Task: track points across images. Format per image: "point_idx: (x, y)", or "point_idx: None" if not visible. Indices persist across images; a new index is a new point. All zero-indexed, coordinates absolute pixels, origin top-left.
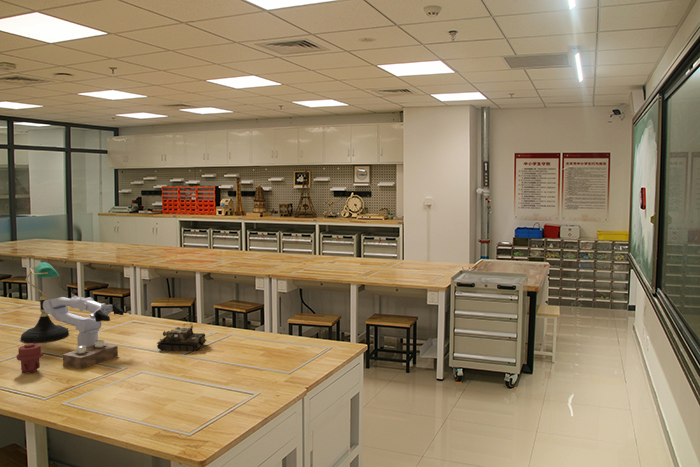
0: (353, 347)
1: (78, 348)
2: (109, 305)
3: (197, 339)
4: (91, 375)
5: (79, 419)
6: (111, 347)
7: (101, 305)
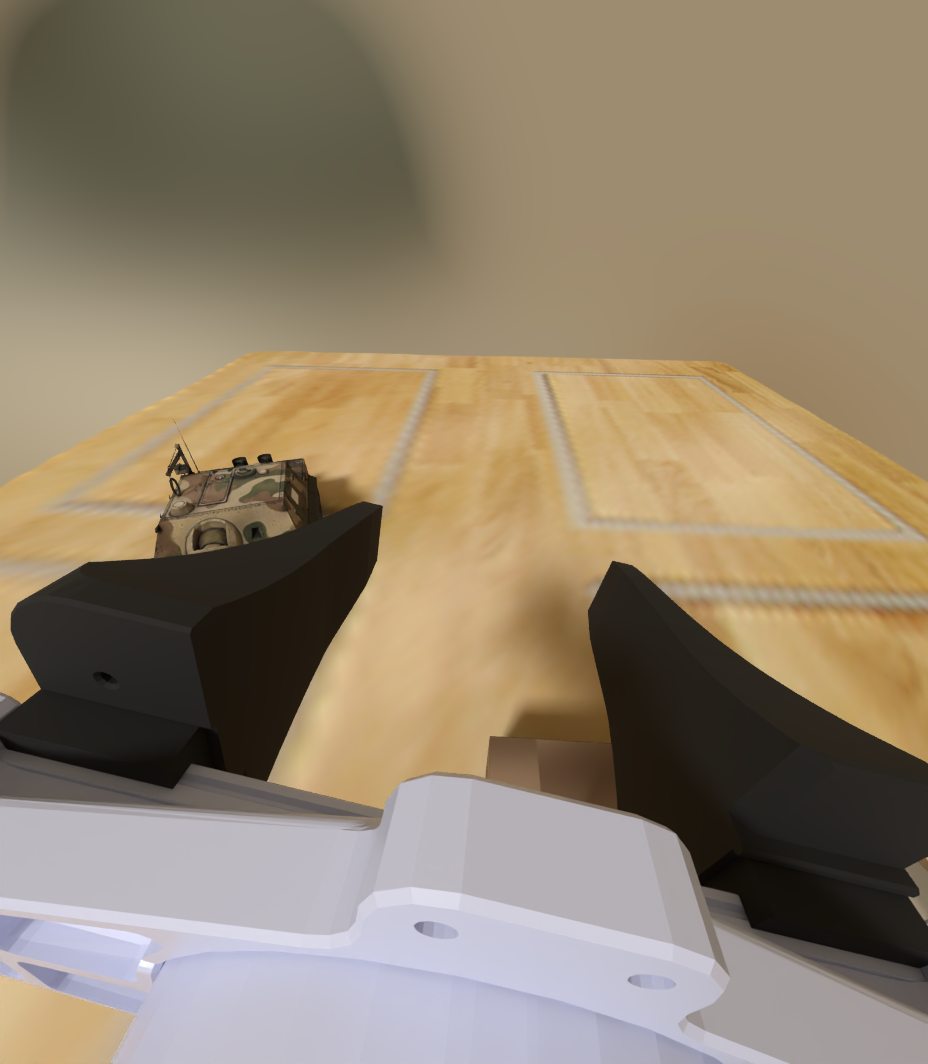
0: (269, 355)
1: (925, 877)
2: (170, 810)
3: (303, 459)
4: (771, 642)
5: (868, 464)
6: (545, 748)
7: (698, 913)
